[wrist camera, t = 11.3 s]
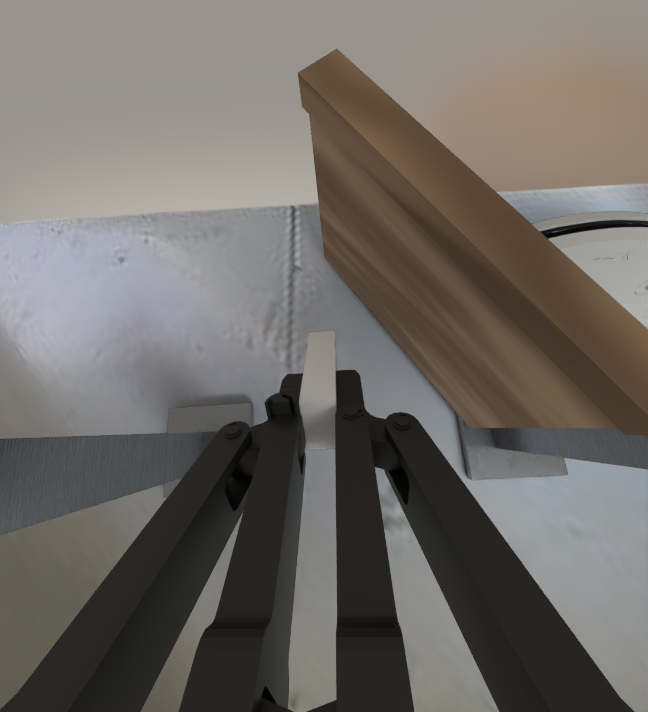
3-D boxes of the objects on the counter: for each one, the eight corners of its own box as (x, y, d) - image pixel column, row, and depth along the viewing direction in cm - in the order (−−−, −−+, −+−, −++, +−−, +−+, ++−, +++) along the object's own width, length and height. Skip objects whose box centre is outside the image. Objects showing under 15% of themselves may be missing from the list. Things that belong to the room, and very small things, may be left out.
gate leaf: (465, 430, 26) (669, 436, 10) (321, 259, 31) (297, 72, 15) (492, 408, 26) (734, 378, 10) (346, 242, 31) (349, 41, 15)
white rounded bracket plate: (470, 335, 30) (519, 250, 21) (459, 300, 32) (499, 212, 24) (647, 332, 29) (772, 242, 20) (621, 296, 31) (722, 203, 23)
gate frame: (559, 473, 26) (1174, 603, 7) (169, 495, 28) (-230, 652, 8) (538, 383, 28) (973, 286, 9) (174, 409, 30) (-143, 374, 10)
